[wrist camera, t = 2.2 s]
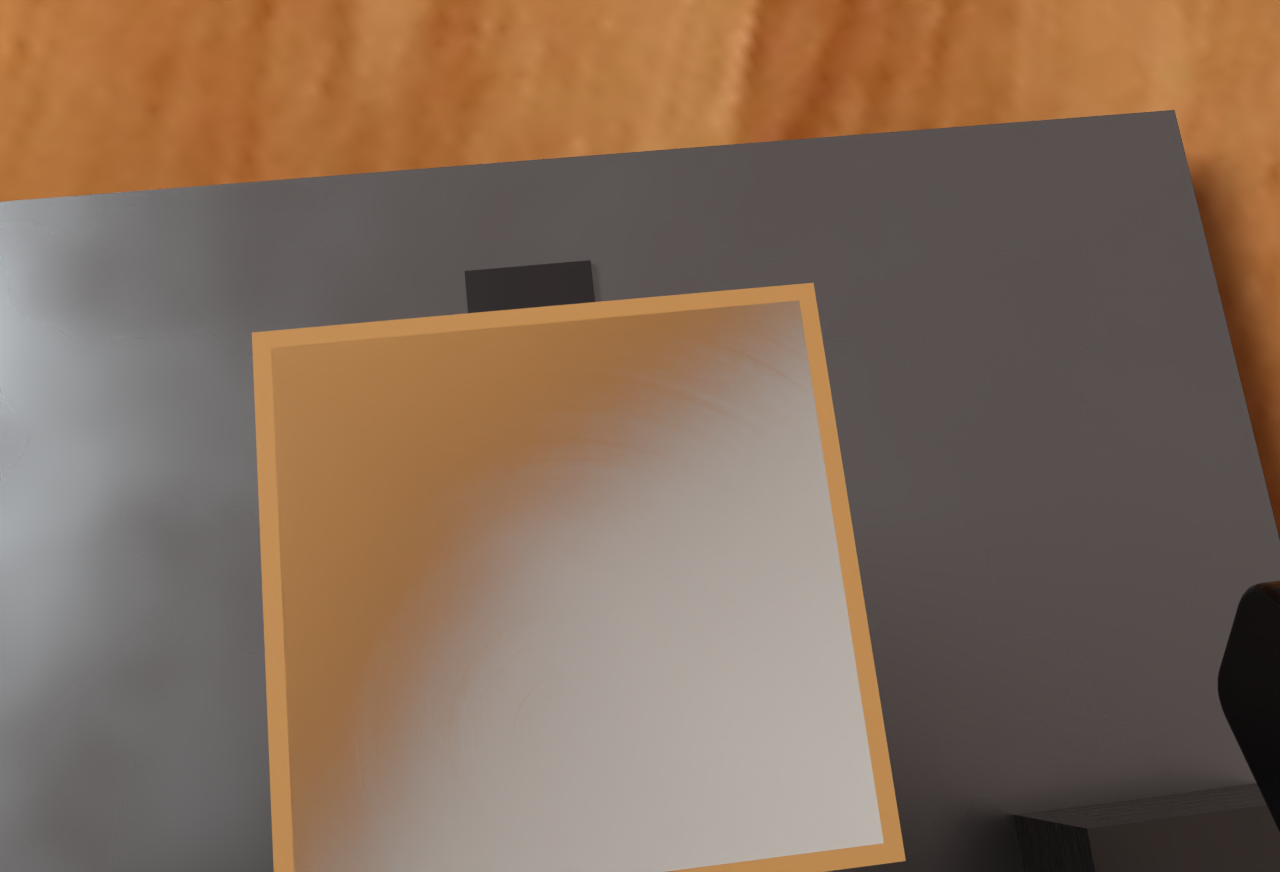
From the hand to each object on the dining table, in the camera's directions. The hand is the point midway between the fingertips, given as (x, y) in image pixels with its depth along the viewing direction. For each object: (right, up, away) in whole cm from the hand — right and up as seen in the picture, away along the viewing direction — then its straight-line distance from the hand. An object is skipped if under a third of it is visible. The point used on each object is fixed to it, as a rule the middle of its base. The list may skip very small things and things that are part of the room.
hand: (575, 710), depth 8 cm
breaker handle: (0, -1, +6) cm, 6 cm away
